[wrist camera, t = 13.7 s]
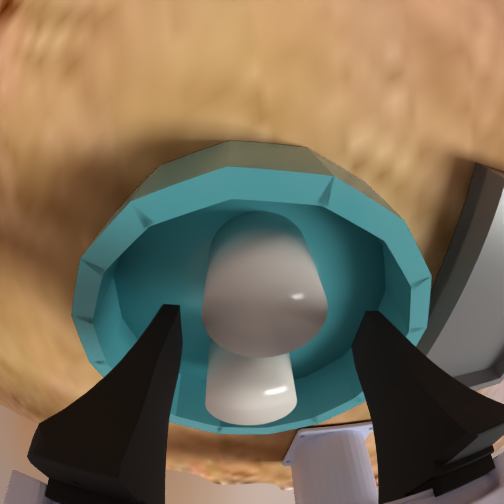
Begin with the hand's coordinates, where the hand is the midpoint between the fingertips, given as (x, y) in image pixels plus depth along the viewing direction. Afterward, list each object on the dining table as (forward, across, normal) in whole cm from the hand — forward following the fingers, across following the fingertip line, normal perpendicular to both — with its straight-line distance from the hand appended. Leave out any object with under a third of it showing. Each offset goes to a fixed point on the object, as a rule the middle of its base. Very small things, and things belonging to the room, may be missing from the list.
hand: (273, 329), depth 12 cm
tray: (+4, -18, +2) cm, 18 cm away
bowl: (+4, 0, +2) cm, 5 cm away
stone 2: (+3, 0, +5) cm, 6 cm away
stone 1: (+3, 0, -1) cm, 4 cm away
